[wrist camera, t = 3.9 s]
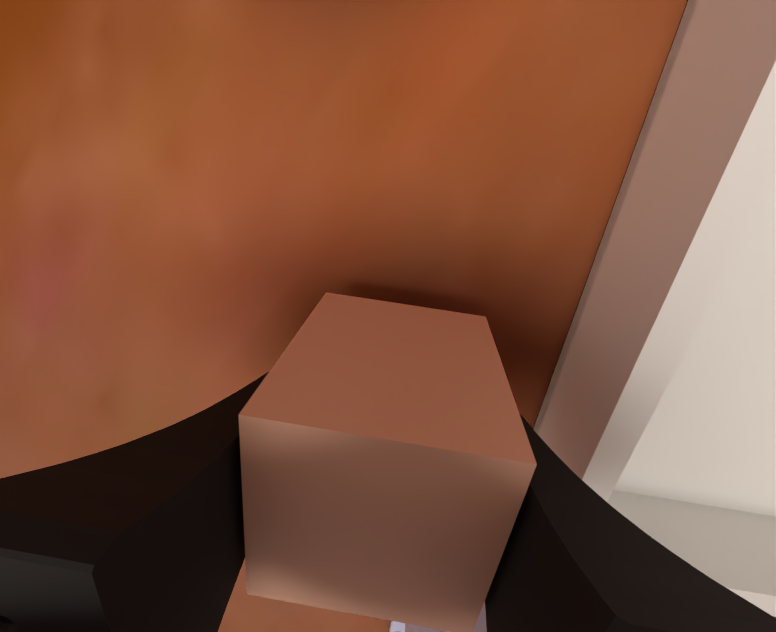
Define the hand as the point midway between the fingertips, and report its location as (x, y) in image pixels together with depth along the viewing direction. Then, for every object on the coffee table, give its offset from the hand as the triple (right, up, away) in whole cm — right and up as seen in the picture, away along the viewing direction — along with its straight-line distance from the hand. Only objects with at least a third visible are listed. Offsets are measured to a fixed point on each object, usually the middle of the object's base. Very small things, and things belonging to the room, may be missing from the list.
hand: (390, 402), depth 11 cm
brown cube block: (0, +1, +2) cm, 2 cm away
